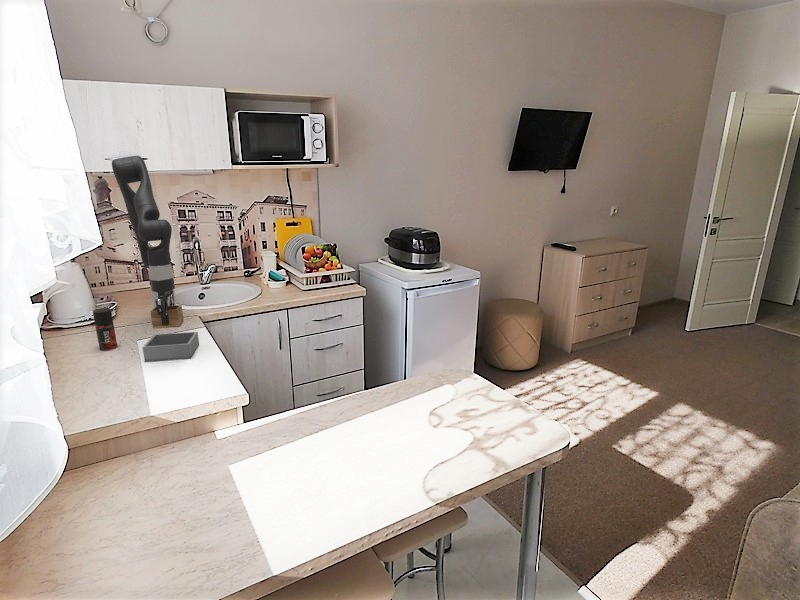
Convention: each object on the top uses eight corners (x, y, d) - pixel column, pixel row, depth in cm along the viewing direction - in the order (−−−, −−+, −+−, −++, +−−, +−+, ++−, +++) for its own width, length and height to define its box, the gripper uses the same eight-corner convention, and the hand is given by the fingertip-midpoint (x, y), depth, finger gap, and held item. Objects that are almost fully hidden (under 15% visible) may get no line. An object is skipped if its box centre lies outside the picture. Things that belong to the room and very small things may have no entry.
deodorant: (104, 351, 187) (96, 313, 183) (97, 348, 190) (89, 310, 186) (120, 347, 191) (113, 309, 187) (113, 344, 195) (106, 307, 191)
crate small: (157, 323, 184) (155, 306, 182) (183, 322, 185) (181, 305, 183) (153, 328, 178) (150, 311, 176) (179, 327, 179) (177, 309, 178)
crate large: (156, 348, 190) (154, 334, 188) (199, 345, 192) (197, 331, 191) (144, 361, 177) (142, 347, 175) (191, 358, 179) (189, 344, 178)
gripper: (156, 273, 183) (163, 317, 188) (143, 282, 169) (151, 329, 174) (178, 272, 184) (184, 315, 189) (167, 281, 171) (174, 327, 175)
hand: (168, 322), depth 181 cm, fingers closed on crate small, 6 cm apart
